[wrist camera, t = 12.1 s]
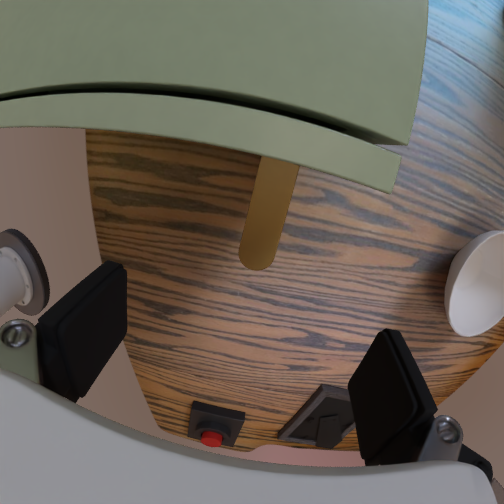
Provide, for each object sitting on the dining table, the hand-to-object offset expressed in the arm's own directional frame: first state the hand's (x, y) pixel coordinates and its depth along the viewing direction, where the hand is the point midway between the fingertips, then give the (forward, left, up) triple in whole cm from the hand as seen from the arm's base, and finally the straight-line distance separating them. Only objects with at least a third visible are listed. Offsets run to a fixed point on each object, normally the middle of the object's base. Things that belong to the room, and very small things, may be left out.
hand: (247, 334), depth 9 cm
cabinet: (-10, +16, -25) cm, 31 cm away
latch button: (+1, -45, -21) cm, 50 cm away
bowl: (+32, -1, -25) cm, 41 cm away
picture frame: (+22, -37, -25) cm, 50 cm away
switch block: (+1, -45, -25) cm, 51 cm away
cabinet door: (-10, +3, -25) cm, 27 cm away
